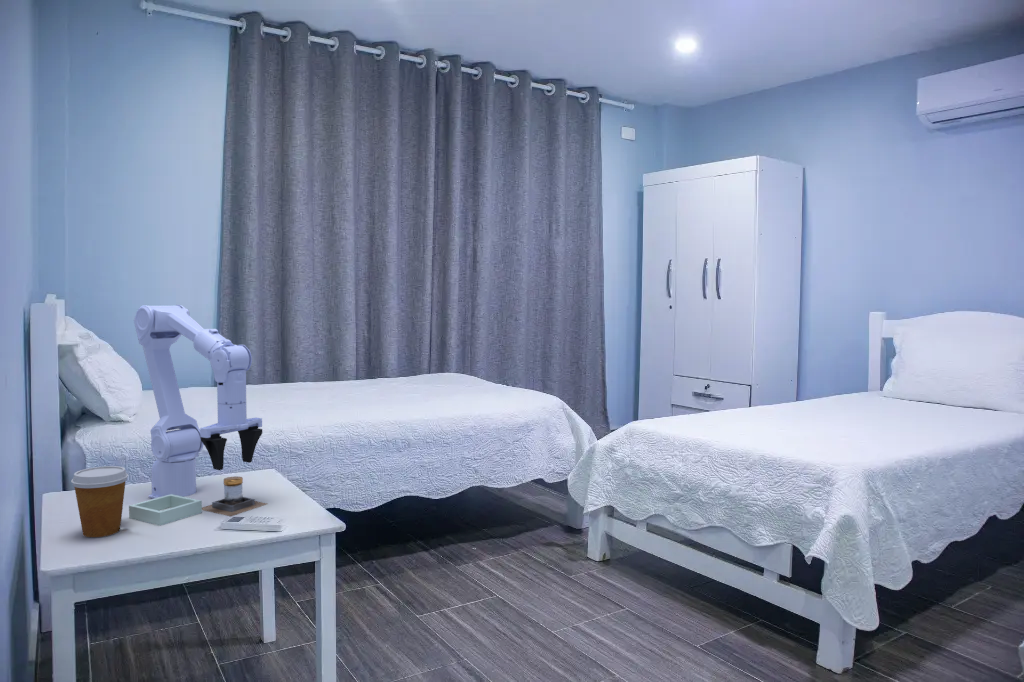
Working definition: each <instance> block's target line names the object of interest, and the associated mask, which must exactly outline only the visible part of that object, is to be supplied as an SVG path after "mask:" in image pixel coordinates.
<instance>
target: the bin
mask: <svg viewBox="0 0 1024 682" xmlns="http://www.w3.org/2000/svg"><path fill="white" fill-rule="evenodd" d="M202 503H203V501H202V500H201V499H196V498H190V497H188V496H184V497H182V496H178V495H173V494H170V495H166V496H161V497H158V498H151V499H148V500H146V501H145V500H144V501H141V502H138V503H134V504H130V505H128V516H129V517H128V518H129V519H132V520H135V521H141V522H143V523H148V524H152V525H154V526H155V525H156V526H158V527H159V526H163V525H166V524H171V523H173V522H176V521H180V520H182V519H185V518H188V517H189V518H190V517H192V516H193V517H194V516H196V515H199V514H202V512H203V510H202V507H203V504H202Z"/></svg>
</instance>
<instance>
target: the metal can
mask: <svg viewBox="0 0 1024 682" xmlns="http://www.w3.org/2000/svg"><path fill="white" fill-rule="evenodd" d="M243 481H244V478H243V477H242V476H237V475H236V476H228V477H225V478H223V488H224V489H223V491H224V493H223V494H224V495H223V497H224V498H223V499H224V503H225V504H228V505H235V504H238V503H241V502H243V499H242V497H243V483H244V482H243Z"/></svg>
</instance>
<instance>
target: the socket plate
mask: <svg viewBox="0 0 1024 682" xmlns="http://www.w3.org/2000/svg"><path fill="white" fill-rule="evenodd" d="M242 499H243V502H241V503H238V504H235V505H228V504H225V503H224V498H221V499H219V500H216V501H212V502H211V503H212V504H210V505H207V506H204V507H203V506H202V511H205V512H210V513H214V514H218V515H223V516H227V517H233V516H236V515H240V514H243V513H244V512H248V511H251V510H254V509H258V508H261V507H262V506H263V507H264V506H266V505H268V503H267V502H262V501H256V500H255V499H254V498H250V497H246V496H242Z"/></svg>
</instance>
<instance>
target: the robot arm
mask: <svg viewBox="0 0 1024 682" xmlns="http://www.w3.org/2000/svg"><path fill="white" fill-rule="evenodd" d="M136 310H137V311H136V312H135V316H134V319H133V324H134V327H135V331H136V335H137V339H138V344H139V345H140V346H142V350H143V353H144V358H145V362H146V366H147V372H148V375H149V378H150V379H149V380H150V383H151V387H152V391H153V394H154V400H155V403H156V407H157V408H156V409H157V412H158V416H159V419H158V421H157V422H156V423H155V424H154V426H152V428H151V429H150V430H149V431H150V435H151V442H150V448H151V452H152V455H153V456H154V457H155V458H156V460H155V461H154V462H153V464H152V466H151V473H150V474H151V477H150V478H151V494H148V498H150V499H155V498H159V497H163V496H166V495H170V494H173V495H178V496H182V497H189V496H192V495H194V494H196V493H197V469H196V468H197V465H196V464H197V460H196V459H197V457H199V455H200V452H202V450H203V448H204V447H205V449H206V451H207V453H208V455H209V458H210V461H211V465H212V468H213V470H218V471H223V469H224V465H225V464H224V456H225V448H226V445H227V441H228V438H226V437H222V436H221V435H224V434H225V435H226V434H229V433H234V432H237V433H238V436H239V442H240V445H241V459H242V462H243V463H248V464H249V463H252V462H253V459H254V453H255V451H256V447H257V444H258V442H259V440H260V438H261V436H262V435H263V428H262V427H263V418H262V417H251V418H248V417H247V371H249V370H250V369H251V366H252V362H253V357H252V352H251V351H250V349H249V347H247V346H246V345H245V344H234V343H232V340H230V339H227V338H226V337H224V336H223V335H222V334H220V333H219V330H218V329H217V328H204V327H203V326H202V325H201V324H199V323H198V322H197V321H196V320H195V319H194V318H192V317H191V315H190V311H189V309H188V308H186V307H185V306H184V305H181V304H176V305H149V304H148V305H146V304H143V305H141V306H139V307H138V309H136ZM181 336H182V337H183V336H184V337H186V338H187V339H188V340H190V341H191V342H193V349H194V350H195V351H196V352H197V353H199V354H200V355H201V356H202V357H204V358H206V359H207V360H208V361H209V362H210V367H211V369H212V371H213V376H214V377H213V379H214V381H215V382H216V385H217V386H216V387H217V388H216V392H217V394H216V395H217V397H216V398H217V423H213V424H210V425H208V426H203V427H199V425H198V421H197V420H196V419H195V418H194V417H192V416H191V415H188V414H187V413H186V411H185V407H184V405H183V400H182V395H181V392H180V388H179V384H178V380H177V375H176V372H175V367H174V364H173V359H172V355H171V351H170V348H171V346H172V345H173V344H175V343H177V341H179V339H180V337H181Z"/></svg>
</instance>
